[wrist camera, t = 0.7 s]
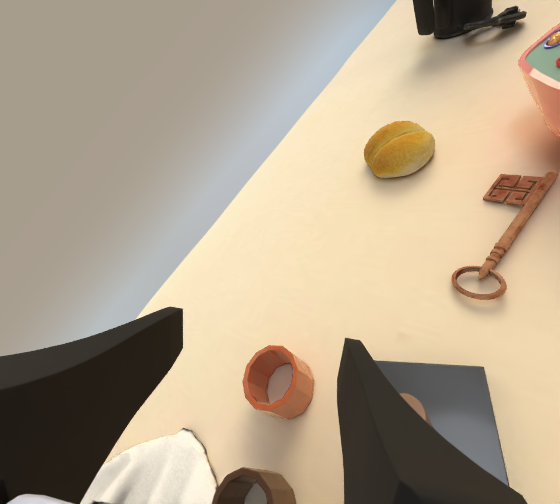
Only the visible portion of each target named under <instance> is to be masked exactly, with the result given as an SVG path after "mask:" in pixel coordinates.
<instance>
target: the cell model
mask: <svg viewBox="0 0 560 504" xmlns="http://www.w3.org/2000/svg"><path fill="white" fill-rule="evenodd" d="M518 65H519V67H520V69H521V72H522V74H523V76H524V79H525V81H526V84H527V86H528V89H529V91H530V94H531V95H532V97H533V99H534V101H535V102H536V104H537V106H538V107H539V109H540V110H541V112H542V113H543V117H544V120H545V123H546V125H547V127H548V128H549V129H550V130H551V131H552V132H553V133H554V134H555V135H557V136H559V137H560V24H558V25H557V26H555V27H553V28H552V29H551V30H549V31H548V32H547V33H546V34H544V35H543V36H542V37H541V38H540V39H539V40H537V41H536V42H535V43H534V44H533V45H532V46H531V47H529V48H528V49H527V50H526V51H525V52H524V53H523V55H522V56H521V57H520V59H519V60H518Z"/></svg>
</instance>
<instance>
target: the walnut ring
mask: <svg viewBox="0 0 560 504" xmlns="http://www.w3.org/2000/svg"><path fill="white" fill-rule="evenodd" d="M255 482H258V483H259V485H260V486H261V488H262V489H263V490H264V492H265V493H266V497H267V502H268V504H296V501H295V496H294V492H293V489H292V488H291V487H290V486H289V484H288V483H287V482H286V481H285V479H284V478H283V477H282V475H280V474H277V473H274V472H270V471H267V470H260V469H252V468H244V467H243V468H240V469H238V470H236V471H234V472H232V473H230V474H228V475H227V476H226V477H225V479H224V480H223V481H222V483H221V484H220V486H219V487H218V489H217V490H216V492H215V494H214V497H213V501H212V504H244V499H245V496H246V495H247V493H248V491H249V490H250V488H251V487H252V485H253V484H254V483H255Z"/></svg>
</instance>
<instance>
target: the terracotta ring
mask: <svg viewBox="0 0 560 504" xmlns="http://www.w3.org/2000/svg"><path fill="white" fill-rule="evenodd" d="M285 363H291V365H292V368H293V376H292V382H291V386H290V388H289V389H288V391H287V392H286V394H285V395H284V397H283V398H282V399H281V400H279V401H277V402H275V403H273V404H271V405H270V404H269V400H268V396H267V392H266V391H267V386H268V381H269V378H270V376H271V375H272V373H273V372H274V371H275V369H276V368H277V367H279V366H281V365H283V364H285ZM243 387H244V393H245V397H246V399H247V400H248V401H249V402H250V404H251V405H252V406H253V407H254V408H255V409H257V410H259V411H262V412H264V413H266V414H269V415H271V416H274V417H276V418H282V419H288V420H289V419H292V418H293V417H295V416H297V415H299V414H301V413H303V412H304V410H305V409H306V407H307V406H308V404H309V403H310V401H311V399H312V396H313V387H314V380H313V377H312V374H311V372H310V369H309V367H308V366H307V365H306V364H304V363H303V362H302V361H301V360H300V359H298V358H297V357H296V356H295V355H293V354H292V353H291V352H290V351H288V350H287V349H286V348H285V347H283V346H271V345H269V346H267V347H265V348H263V349H262V350H260V351H258V352H256V353H255V355H254V356H253V357H252V359H251V360H250V362H249V363H248V364H247V366H246V370H245V374H244V378H243Z"/></svg>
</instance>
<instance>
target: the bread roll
mask: <svg viewBox="0 0 560 504" xmlns="http://www.w3.org/2000/svg"><path fill="white" fill-rule="evenodd" d="M434 147H435V141H434V137H433V136H432V134H430V133H428V132H427V131H425V130H424V129H423V128H422V127H421V126H419V125H418V124H415V123H413V122H410V121H398V122H393V123H391V124H388V125H386V126H384V127H382V128H381V129H380V130H378V131H377V132H376V133H375V134H374V135H373V136H372V137H371V138H370V139H369V141H368V143H367V144H366V146H365V149H364V157H365V160H366V162H367V163H368V165H369V166H370V167H371V168H372V172H373V173H374V174H375V175H376V176H378V177H381V178H384V177H385V178H391V177H399V176H406V175H409V174H411V173H414V172H416V171H417V170H418V169H420V168H421V167H423V166H424V165H425V164H426V163H427V162H428V160H429V159H430V158H431V156H432V155H433V152H434Z"/></svg>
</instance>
